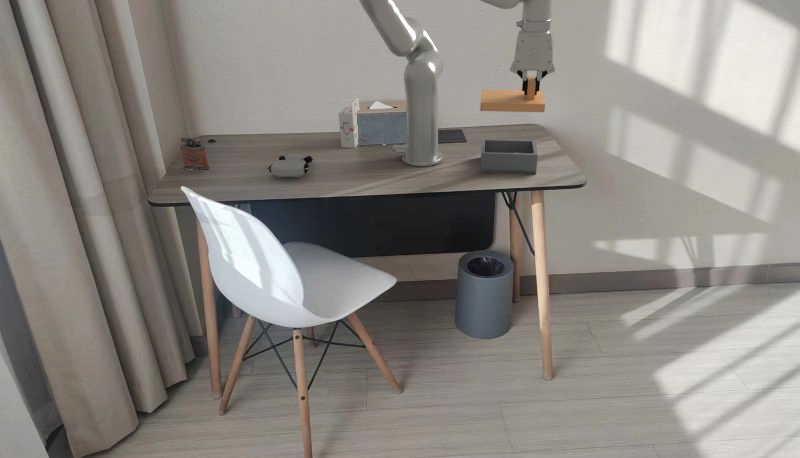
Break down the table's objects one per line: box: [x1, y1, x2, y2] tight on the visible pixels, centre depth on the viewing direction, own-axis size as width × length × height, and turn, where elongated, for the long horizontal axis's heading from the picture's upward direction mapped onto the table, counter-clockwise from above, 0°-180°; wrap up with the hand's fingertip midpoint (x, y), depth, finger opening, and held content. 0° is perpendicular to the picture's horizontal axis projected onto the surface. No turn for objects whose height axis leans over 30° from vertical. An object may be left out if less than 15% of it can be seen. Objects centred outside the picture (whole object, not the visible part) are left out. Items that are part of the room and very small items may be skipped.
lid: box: [479, 75, 546, 113], centre depth 171 cm, size 17×13×7 cm
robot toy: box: [264, 153, 316, 179], centre depth 180 cm, size 12×4×15 cm
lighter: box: [179, 136, 210, 171], centre depth 183 cm, size 8×3×10 cm, turn 74°
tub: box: [480, 138, 539, 175], centre depth 180 cm, size 16×12×6 cm
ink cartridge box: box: [338, 97, 361, 149], centre depth 198 cm, size 9×5×15 cm, turn 168°
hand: (530, 93), depth 171 cm, fingers closed on lid
